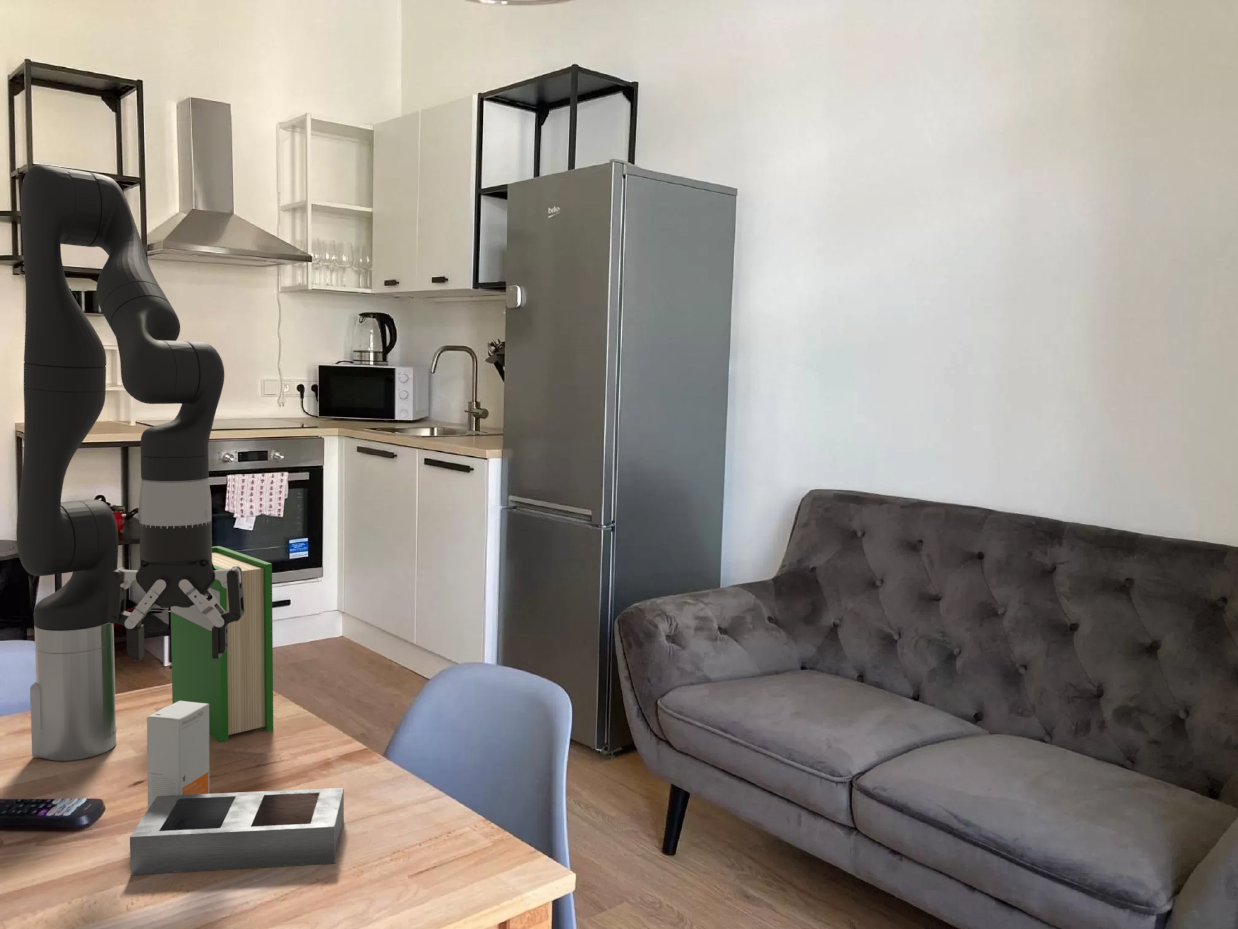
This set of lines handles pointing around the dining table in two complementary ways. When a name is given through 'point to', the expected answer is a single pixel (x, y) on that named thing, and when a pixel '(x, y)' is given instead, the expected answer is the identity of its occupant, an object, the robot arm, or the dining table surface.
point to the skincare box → (178, 750)
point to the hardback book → (228, 653)
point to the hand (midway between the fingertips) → (178, 658)
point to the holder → (238, 831)
